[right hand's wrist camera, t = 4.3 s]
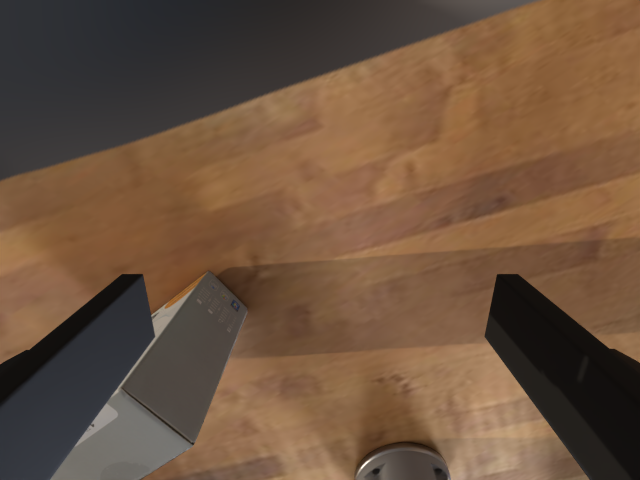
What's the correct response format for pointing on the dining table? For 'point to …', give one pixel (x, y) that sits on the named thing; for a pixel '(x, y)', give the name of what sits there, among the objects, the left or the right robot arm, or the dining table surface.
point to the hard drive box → (162, 388)
